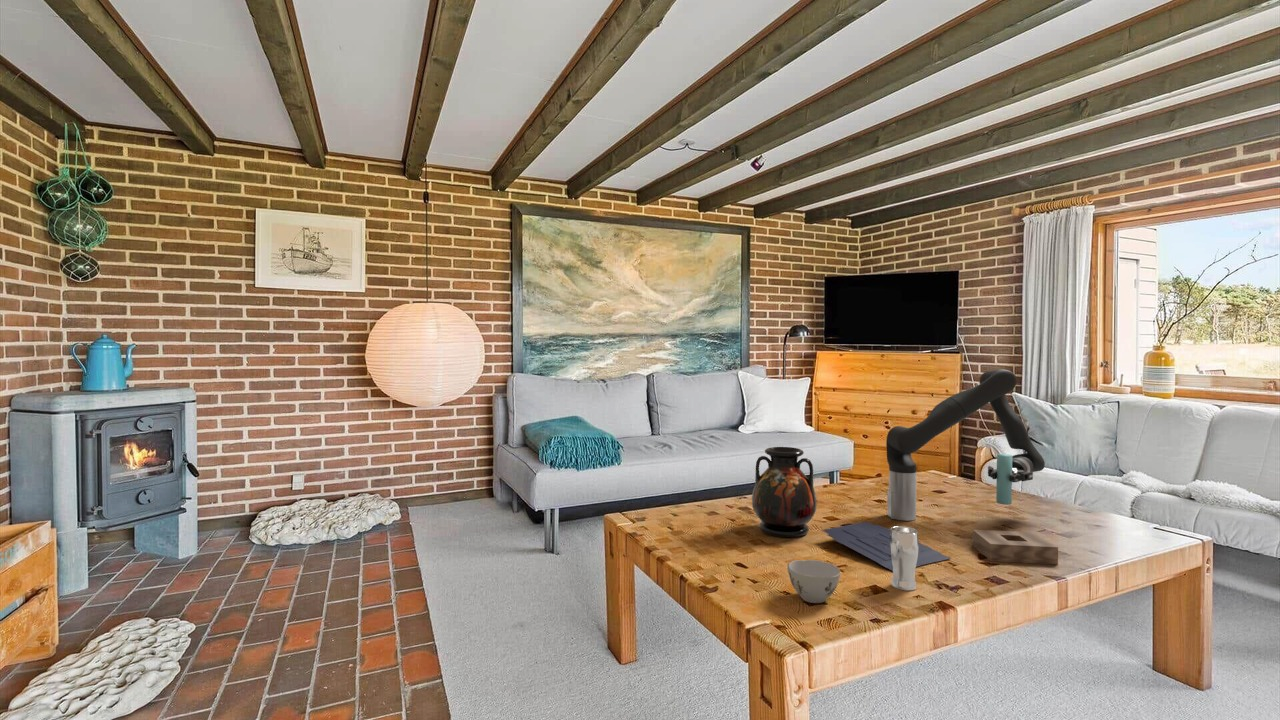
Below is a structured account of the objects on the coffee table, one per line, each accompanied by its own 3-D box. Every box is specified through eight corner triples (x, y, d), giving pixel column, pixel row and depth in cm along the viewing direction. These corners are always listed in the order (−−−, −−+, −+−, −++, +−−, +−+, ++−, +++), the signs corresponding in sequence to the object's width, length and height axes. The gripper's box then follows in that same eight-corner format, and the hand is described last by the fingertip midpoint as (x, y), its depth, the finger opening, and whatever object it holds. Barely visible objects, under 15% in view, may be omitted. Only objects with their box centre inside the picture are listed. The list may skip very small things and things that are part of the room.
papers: (869, 528, 206) (870, 518, 206) (950, 566, 180) (951, 555, 179) (816, 539, 194) (817, 528, 194) (894, 582, 168) (896, 569, 168)
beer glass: (910, 580, 163) (910, 525, 163) (923, 591, 156) (923, 533, 156) (884, 581, 163) (885, 525, 162) (896, 591, 156) (897, 533, 155)
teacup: (851, 602, 150) (851, 570, 149) (815, 614, 143) (815, 580, 143) (805, 581, 162) (805, 552, 162) (770, 591, 156) (770, 561, 156)
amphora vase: (747, 538, 199) (748, 453, 199) (755, 520, 220) (755, 443, 219) (816, 544, 193) (816, 456, 192) (817, 525, 214) (817, 446, 213)
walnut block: (990, 560, 178) (990, 543, 178) (972, 545, 192) (972, 529, 192) (1057, 564, 175) (1058, 547, 175) (1034, 548, 189) (1035, 532, 189)
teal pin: (999, 504, 200) (1000, 456, 199) (993, 500, 204) (994, 453, 204) (1013, 504, 199) (1014, 456, 199) (1008, 501, 203) (1008, 454, 203)
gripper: (992, 456, 216) (978, 463, 204) (1039, 461, 206) (1027, 469, 194) (992, 477, 217) (977, 485, 204) (1039, 483, 207) (1027, 492, 194)
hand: (1002, 477), depth 199 cm, fingers closed on teal pin, 4 cm apart
